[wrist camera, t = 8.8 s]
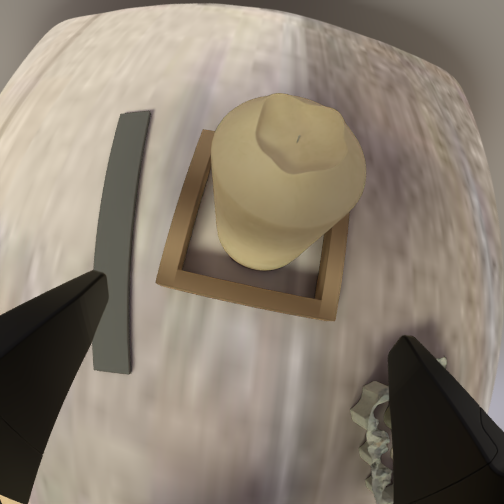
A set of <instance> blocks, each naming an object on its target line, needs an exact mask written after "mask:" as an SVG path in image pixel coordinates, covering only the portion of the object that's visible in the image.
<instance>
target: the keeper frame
mask: <svg viewBox="0 0 504 504" xmlns="http://www.w3.org/2000/svg"><path fill="white" fill-rule="evenodd" d="M214 133H215V131H210V130H204V129H203V130H202V133H201V136H200V138H199V141H198V144H197V147H196V149H195V152H194V155H193V158H192V161H191V164H190V166H189V169H188V172H187V175H186V178H185V181H184V184H183V187H182V190H181V194H180V197H179V200H178V203H177V206H176V210H175V213H174V216H173V219H172V223H171V226H170V230H169V233H168V237H167V240H166V244H165V247H164V251H163V255H162V259H161V262H160V266H159V270H158V274H157V278H156V282H155V283H157V284H159V285H161V286H164V287H168V288H172V289H176V290H180V291H184V292H188V293H192V294H196V295H201V296H205V297H209V298H214V299H218V300H223V301H227V302H232V303H236V304H241V305H245V306H250V307H255V308H260V309H265V310H270V311H275V312H280V313H285V314H290V315H296V316H301V317H307V318H312V319H318V320H324V321H335V319H336V313H337V307H338V301H339V295H340V288H341V282H342V275H343V267H344V260H345V252H346V243H347V234H348V224H349V213H350V211H349V212H348V213H347V214H346V215H345V216H344V217H343V218H342V219H341V220H340V221H338V222H337V223H336V224H335V225H334V226H333V227H332V228H330V229H329V230H328V231H327V232H326V233H325V234H324V240H323V247H322V254H321V261H320V267H319V274H318V280H317V286H316V292H315V297H314V299H312V298H307V297H302V296H297V295H292V294H287V293H282V292H277V291H272V290H268V289H263V288H258V287H253V286H249V285H244V284H240V283H235V282H231V281H226V280H222V279H217V278H213V277H208V276H204V275H200V274H195V273H191V272H187V271H183V270H182V269H183V265H184V261H185V257H186V253H187V249H188V245H189V242H190V238H191V234H192V230H193V227H194V223H195V219H196V216H197V212H198V209H199V205H200V202H201V198H202V195H203V192H204V188H205V185H206V182H207V178H208V175H209V172H210V169H211V145H212V140H213V137H214Z"/></svg>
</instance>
